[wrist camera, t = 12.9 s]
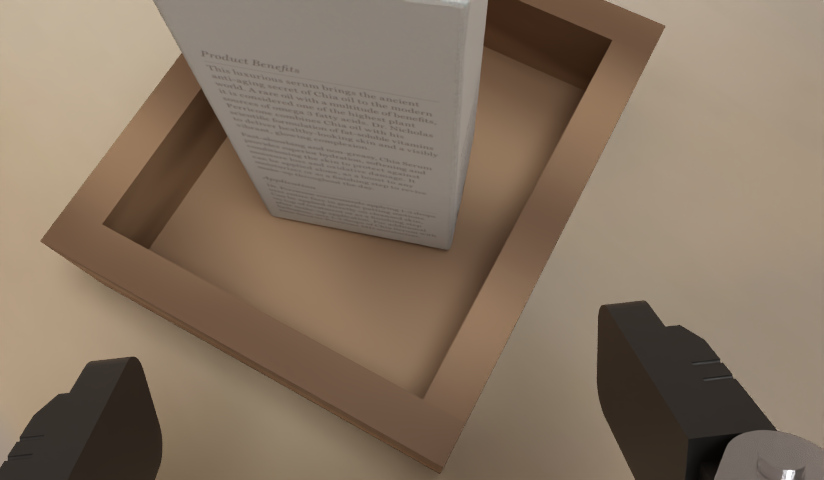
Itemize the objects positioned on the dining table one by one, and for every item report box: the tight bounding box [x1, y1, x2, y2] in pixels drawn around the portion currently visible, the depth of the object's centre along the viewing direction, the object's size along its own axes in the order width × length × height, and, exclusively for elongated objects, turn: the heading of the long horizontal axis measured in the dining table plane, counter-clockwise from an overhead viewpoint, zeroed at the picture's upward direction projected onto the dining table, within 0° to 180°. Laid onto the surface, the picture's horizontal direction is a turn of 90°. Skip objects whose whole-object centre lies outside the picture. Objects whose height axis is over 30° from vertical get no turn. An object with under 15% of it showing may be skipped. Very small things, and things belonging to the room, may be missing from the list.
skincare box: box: [153, 0, 488, 250], centre depth 18 cm, size 6×4×12 cm
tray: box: [41, 0, 665, 473], centre depth 23 cm, size 14×12×4 cm
